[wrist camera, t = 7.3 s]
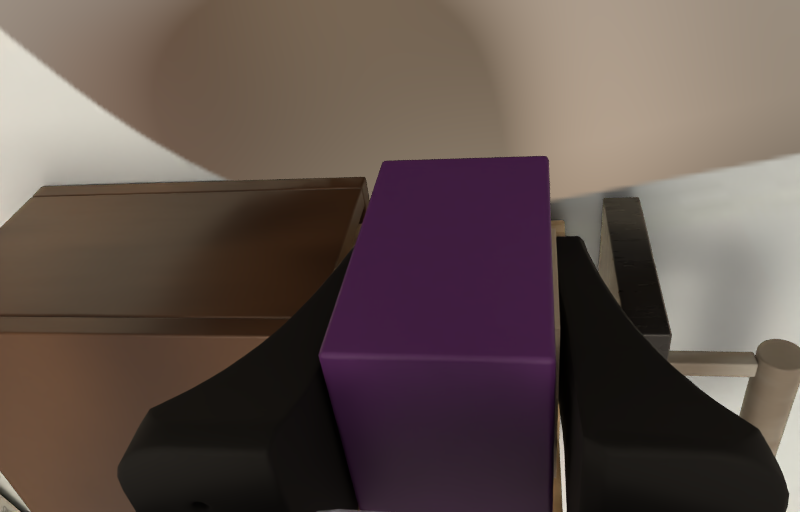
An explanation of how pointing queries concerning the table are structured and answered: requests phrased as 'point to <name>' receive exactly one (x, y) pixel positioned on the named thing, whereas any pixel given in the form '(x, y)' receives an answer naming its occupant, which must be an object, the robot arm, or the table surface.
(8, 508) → the tea box
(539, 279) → the snack box
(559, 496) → the drawer
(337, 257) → the drawer unit
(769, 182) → the table surface
